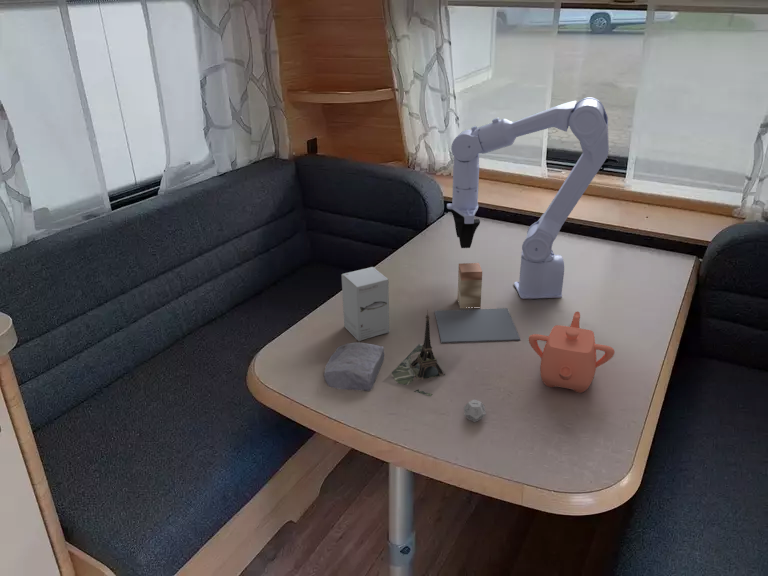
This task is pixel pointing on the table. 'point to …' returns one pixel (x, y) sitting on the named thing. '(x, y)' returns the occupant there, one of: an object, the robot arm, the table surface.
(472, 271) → the tall block
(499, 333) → the mat
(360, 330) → the supplement box
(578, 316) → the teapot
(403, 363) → the eiffel tower figurine
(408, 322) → the table surface
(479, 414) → the game die
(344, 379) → the stone block
